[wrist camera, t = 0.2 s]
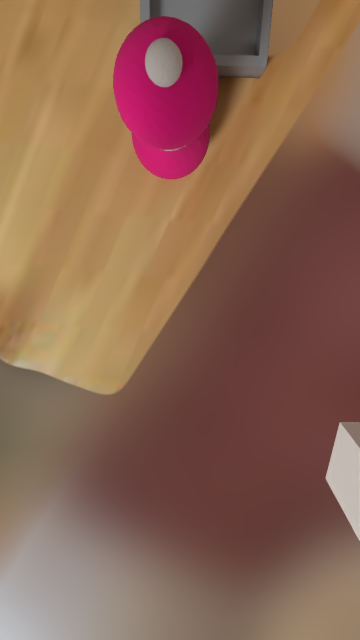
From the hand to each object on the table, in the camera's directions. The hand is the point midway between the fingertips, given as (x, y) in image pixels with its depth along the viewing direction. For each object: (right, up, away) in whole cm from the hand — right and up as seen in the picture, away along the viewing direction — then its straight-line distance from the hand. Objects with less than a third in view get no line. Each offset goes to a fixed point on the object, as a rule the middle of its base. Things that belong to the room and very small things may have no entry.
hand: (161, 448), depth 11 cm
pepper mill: (0, +24, +21) cm, 32 cm away
